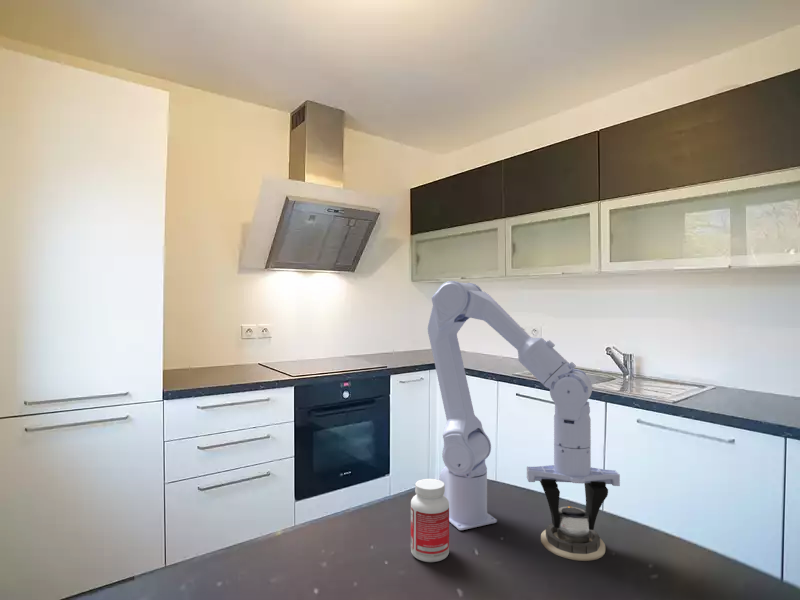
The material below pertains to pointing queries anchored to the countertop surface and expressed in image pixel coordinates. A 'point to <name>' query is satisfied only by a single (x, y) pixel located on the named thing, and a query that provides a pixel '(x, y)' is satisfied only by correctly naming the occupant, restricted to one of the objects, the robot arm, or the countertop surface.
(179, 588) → the countertop surface
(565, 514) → the lens
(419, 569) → the countertop surface
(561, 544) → the mount
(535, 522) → the countertop surface
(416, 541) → the pill bottle
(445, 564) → the countertop surface
